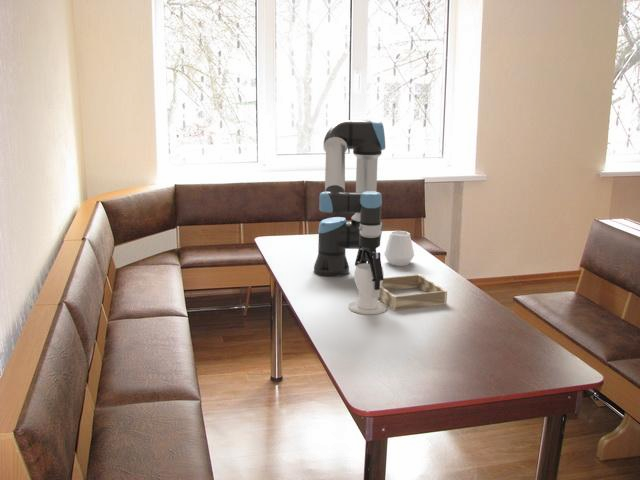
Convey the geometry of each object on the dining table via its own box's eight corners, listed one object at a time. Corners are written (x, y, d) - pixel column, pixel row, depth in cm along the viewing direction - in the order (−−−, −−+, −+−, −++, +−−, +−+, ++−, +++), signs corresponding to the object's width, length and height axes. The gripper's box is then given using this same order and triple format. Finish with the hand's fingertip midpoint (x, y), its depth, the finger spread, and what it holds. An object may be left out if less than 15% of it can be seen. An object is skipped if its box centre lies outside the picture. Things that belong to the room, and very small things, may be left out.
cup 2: (418, 261, 303) (420, 232, 300) (405, 268, 292) (407, 238, 289) (392, 257, 310) (393, 228, 307) (378, 263, 299) (379, 233, 296)
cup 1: (380, 312, 238) (382, 271, 234) (350, 309, 240) (352, 269, 236) (383, 302, 248) (385, 263, 244) (355, 300, 250) (356, 261, 246)
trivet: (342, 303, 248) (342, 302, 248) (377, 299, 252) (377, 298, 252) (357, 316, 235) (357, 314, 235) (393, 312, 240) (393, 310, 239)
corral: (369, 291, 262) (369, 279, 260) (418, 286, 269) (419, 274, 268) (393, 310, 242) (393, 297, 240) (446, 304, 249) (447, 291, 248)
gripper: (347, 228, 247) (345, 282, 252) (374, 244, 224) (372, 304, 229) (365, 226, 249) (364, 280, 255) (394, 242, 227) (392, 301, 232)
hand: (368, 291), depth 242 cm, fingers open, 13 cm apart
